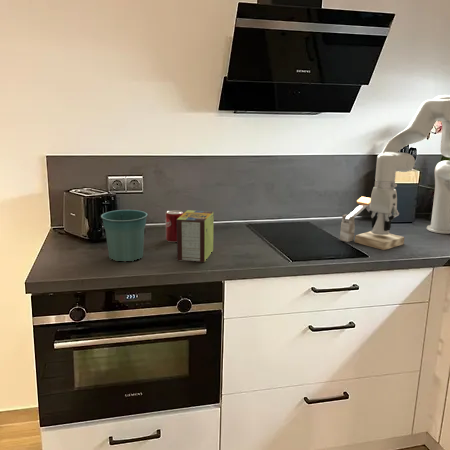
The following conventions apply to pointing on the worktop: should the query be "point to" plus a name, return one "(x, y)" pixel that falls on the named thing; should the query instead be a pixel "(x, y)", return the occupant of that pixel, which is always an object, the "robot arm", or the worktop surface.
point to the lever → (359, 207)
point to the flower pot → (125, 234)
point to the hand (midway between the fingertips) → (380, 228)
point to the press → (368, 236)
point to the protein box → (195, 235)
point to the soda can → (172, 224)
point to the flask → (380, 225)
